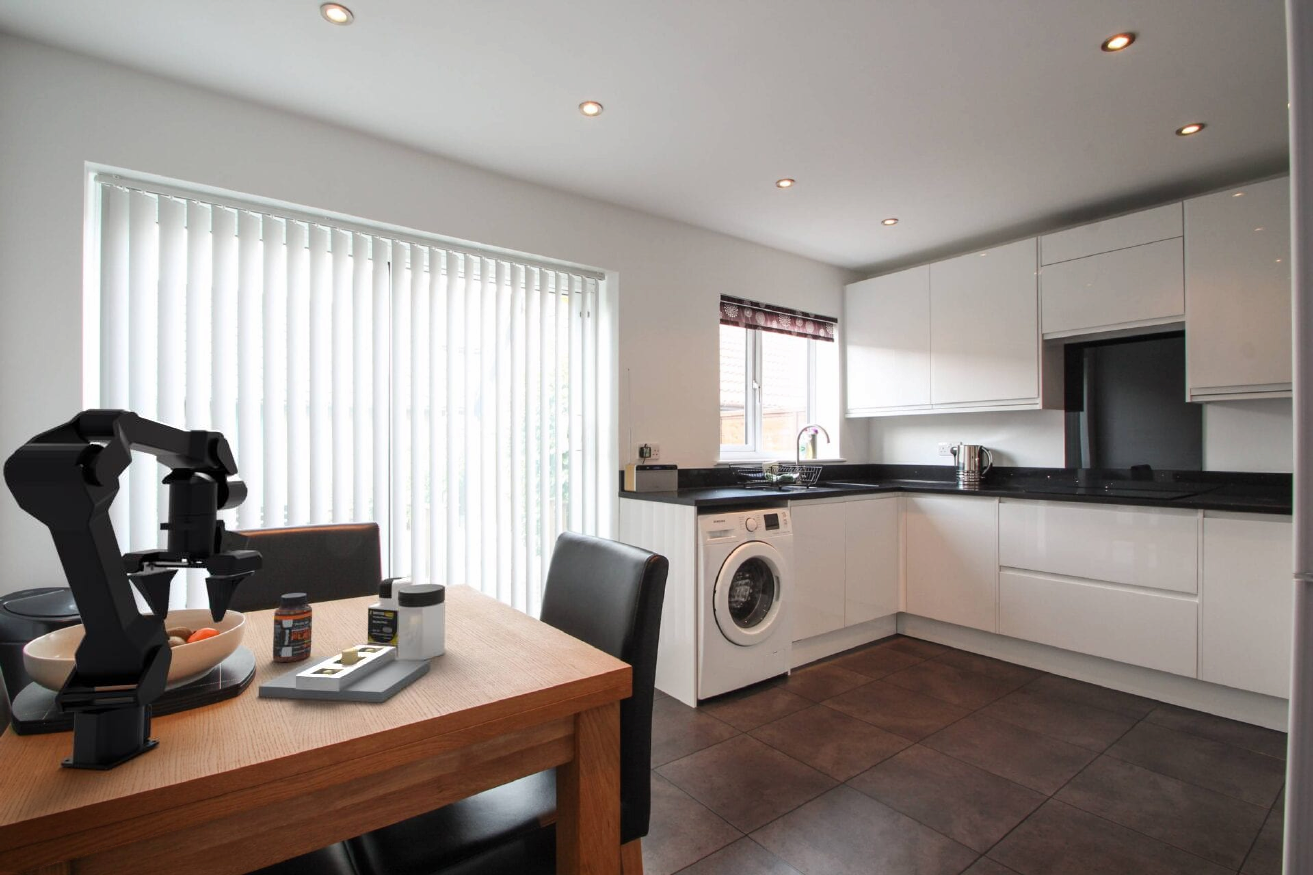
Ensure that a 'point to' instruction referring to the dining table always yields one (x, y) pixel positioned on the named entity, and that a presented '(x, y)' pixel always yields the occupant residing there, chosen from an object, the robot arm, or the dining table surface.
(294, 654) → the supplement bottle
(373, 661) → the white slotted frame
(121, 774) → the dining table surface
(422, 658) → the jar
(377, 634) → the medicine bottle
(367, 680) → the post base
